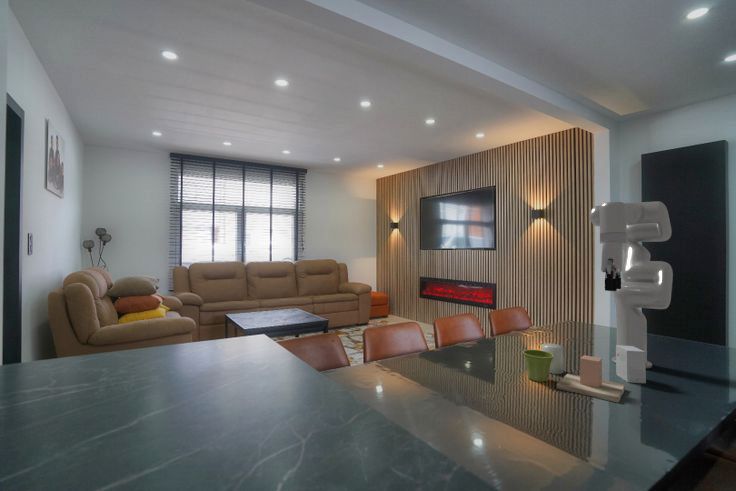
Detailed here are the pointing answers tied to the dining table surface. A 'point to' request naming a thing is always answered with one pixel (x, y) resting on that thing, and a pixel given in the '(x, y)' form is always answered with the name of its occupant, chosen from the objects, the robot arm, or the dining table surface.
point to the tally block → (591, 371)
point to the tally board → (592, 388)
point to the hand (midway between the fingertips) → (613, 289)
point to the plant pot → (538, 364)
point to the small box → (630, 364)
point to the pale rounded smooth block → (555, 357)
